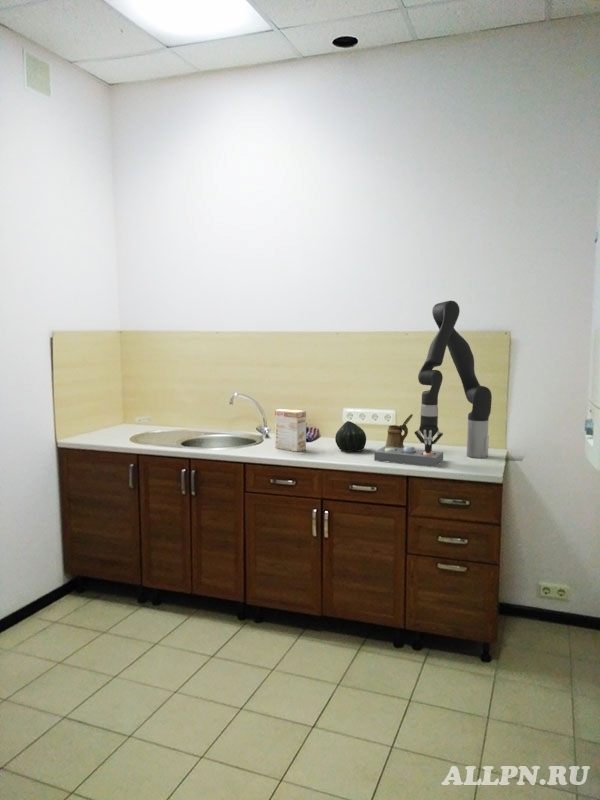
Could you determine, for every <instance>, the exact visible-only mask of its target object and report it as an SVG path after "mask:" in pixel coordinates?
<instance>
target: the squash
mask: <svg viewBox="0 0 600 800" xmlns="http://www.w3.org/2000/svg"><path fill="white" fill-rule="evenodd" d="M335 443H336V445H337V448H338V449H339V450H340V451H343V452H349V451H355V452H361V451H363V450H364V449H365V447H366V444H367V435H366V433H365V431H364V429H363V428H362V427H360V426H359V425H357V424H356V423H354V422H352V421H350V420H348V421H345V422H344V423H343V424H342V425H341V426H340V427H339V429H338V430H337V432H336V434H335Z"/></svg>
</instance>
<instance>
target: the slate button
mask: <svg viewBox="0 0 600 800" xmlns="http://www.w3.org/2000/svg"><path fill="white" fill-rule="evenodd" d="M414 449H415V447H414V446H404V453H412V454H413V453H414Z"/></svg>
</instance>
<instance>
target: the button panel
mask: <svg viewBox="0 0 600 800" xmlns="http://www.w3.org/2000/svg"><path fill="white" fill-rule="evenodd" d="M385 448H394V449H395V451H394V452H391V451H385ZM423 452H425V449H417V448H414V453H413V454H412V453H404V448H397V447H386V445H385V446H383V447H381V448H379V449H377V450H375V451H374V455H373V456H374V457H373V460H379V461H378V462H383V461H389V462H388V463H393V462H396V463H395V464H402V463H405V464H404V465H412V464H414V465H413V466H422V465H424V467H431V466H436V467H438V465H440V464H441V463H442V462H443V461H444V451H439V450H438V451H437V450H432V451H431V452H434V455H433V456H432V455H423ZM441 461H442V462H441ZM440 462H441V463H440ZM439 463H440V464H439Z"/></svg>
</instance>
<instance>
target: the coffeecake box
mask: <svg viewBox="0 0 600 800" xmlns="http://www.w3.org/2000/svg"><path fill="white" fill-rule="evenodd" d="M274 412H275V413H274V419H275V420H274V423H275V424H274V425H275V426H274V429H275V430H274V431H275V433H274V435H275V436H274V438H275V443H274V445H275V446H274V447H275V449H279V450H284V451H285V450H286V451H290V450H291V451H292V452H295V451H298V452H302V450H303V451H306V450H307V411H306V410H300V409H292V408H278V409H277V408H276V409H275V410H274Z"/></svg>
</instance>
